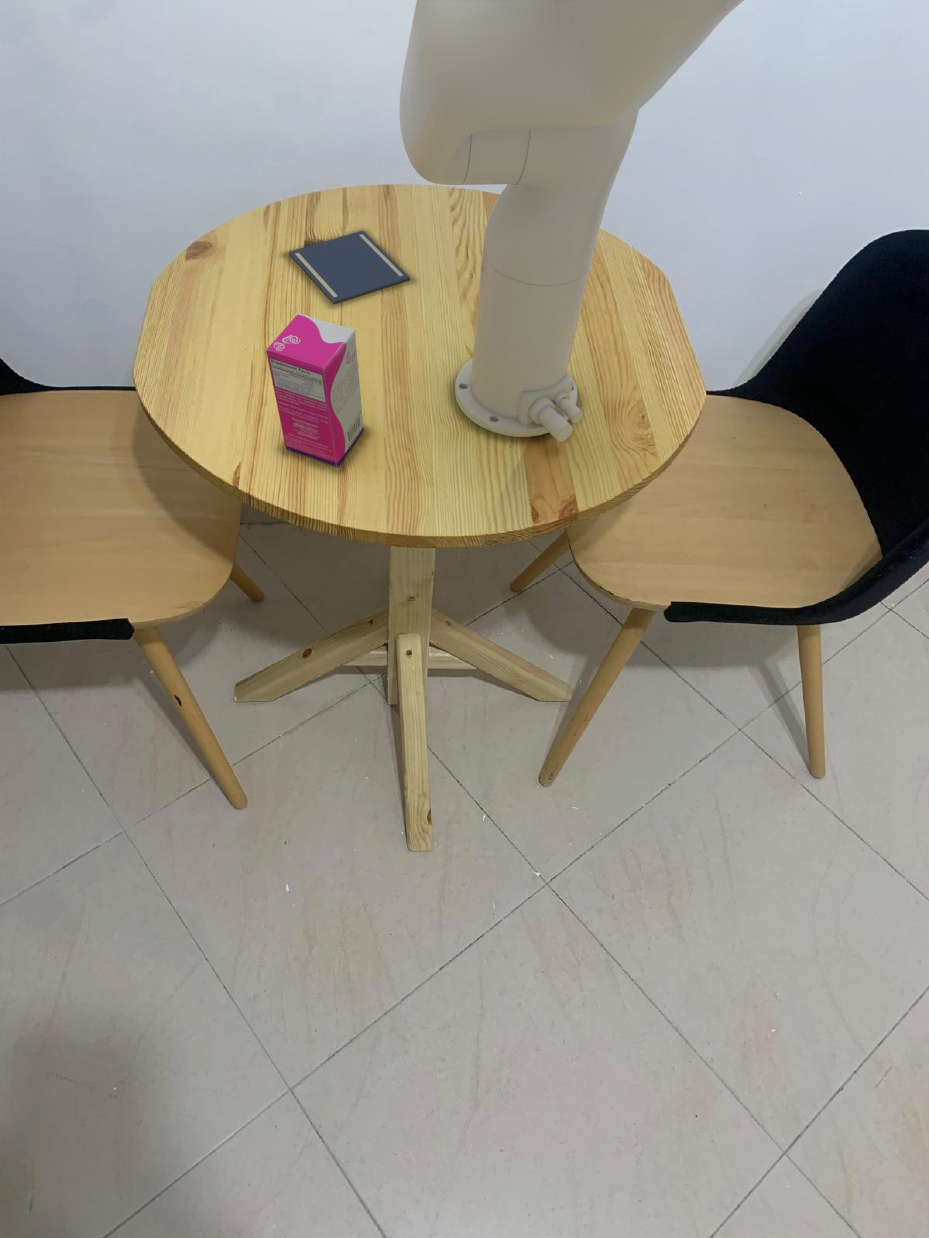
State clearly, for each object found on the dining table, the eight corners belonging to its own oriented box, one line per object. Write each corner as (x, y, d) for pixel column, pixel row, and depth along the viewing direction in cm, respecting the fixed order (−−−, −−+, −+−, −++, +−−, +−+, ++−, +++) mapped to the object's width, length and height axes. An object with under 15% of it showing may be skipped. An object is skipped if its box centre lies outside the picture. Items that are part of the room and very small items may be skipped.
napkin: (409, 279, 90) (409, 277, 90) (333, 304, 86) (333, 301, 86) (363, 232, 95) (362, 230, 94) (288, 254, 91) (288, 251, 91)
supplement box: (311, 412, 76) (298, 309, 67) (365, 430, 76) (360, 329, 66) (282, 449, 73) (264, 347, 64) (337, 469, 72) (327, 369, 63)
